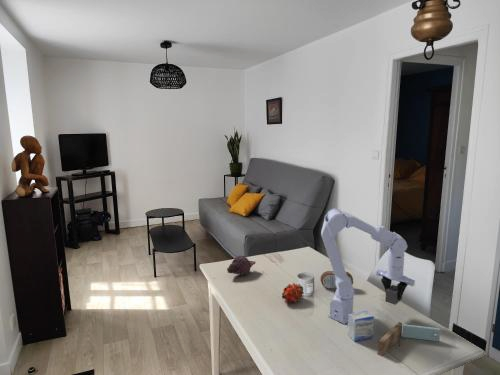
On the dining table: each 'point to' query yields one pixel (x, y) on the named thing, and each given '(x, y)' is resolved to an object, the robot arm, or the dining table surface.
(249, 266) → the purple toy animal
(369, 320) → the medicine box
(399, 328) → the brown wooden plank
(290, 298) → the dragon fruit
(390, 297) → the dark grey block
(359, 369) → the dining table surface
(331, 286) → the tin
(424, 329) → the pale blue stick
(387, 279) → the robot arm
